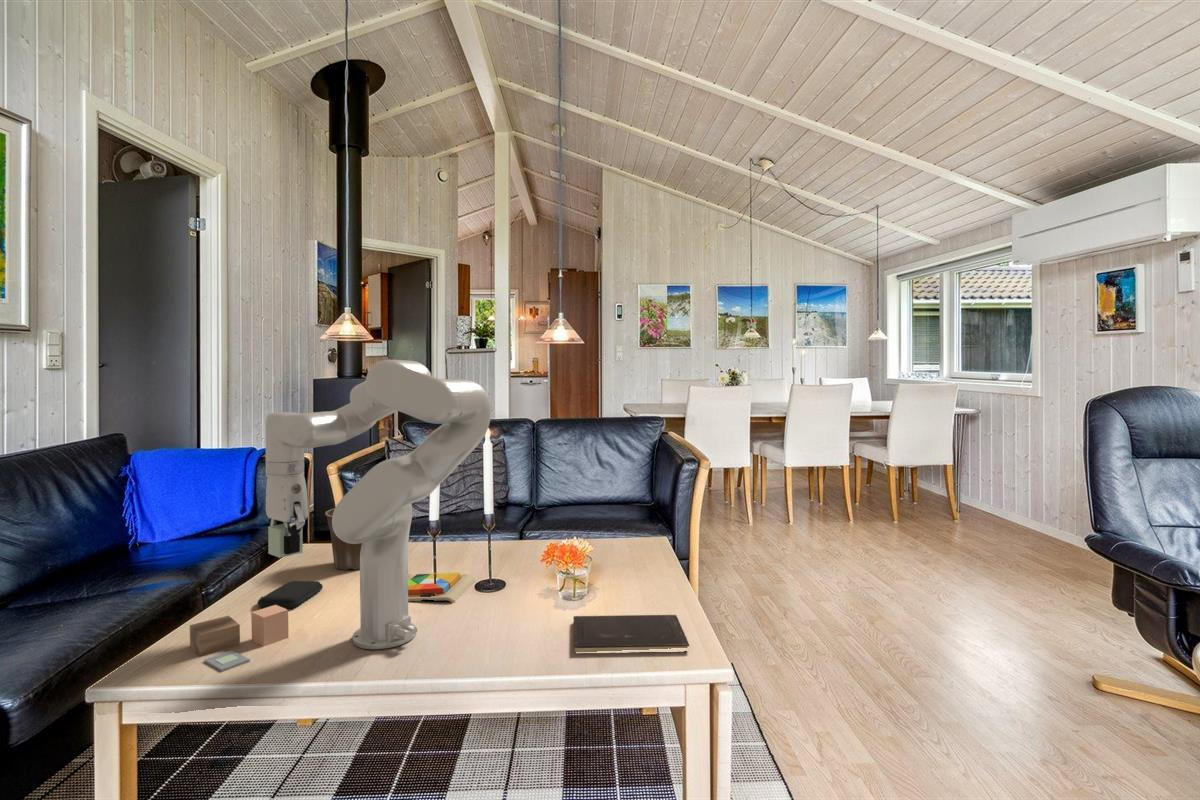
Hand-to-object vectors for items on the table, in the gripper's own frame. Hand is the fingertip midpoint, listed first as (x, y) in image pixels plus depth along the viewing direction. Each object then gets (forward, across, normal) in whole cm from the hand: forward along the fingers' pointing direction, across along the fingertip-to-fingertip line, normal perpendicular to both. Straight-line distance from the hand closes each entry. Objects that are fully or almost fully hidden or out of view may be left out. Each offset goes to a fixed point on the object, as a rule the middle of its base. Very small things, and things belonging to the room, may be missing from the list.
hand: (285, 549), depth 134 cm
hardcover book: (+16, -65, -40) cm, 78 cm away
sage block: (+1, 0, 0) cm, 1 cm away
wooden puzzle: (+17, -8, -33) cm, 38 cm away
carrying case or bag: (+17, +15, -8) cm, 24 cm away
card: (+17, -9, +16) cm, 25 cm away
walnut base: (+17, 0, +14) cm, 22 cm away
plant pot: (+17, +27, -34) cm, 47 cm away
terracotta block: (+17, -5, +6) cm, 18 cm away
